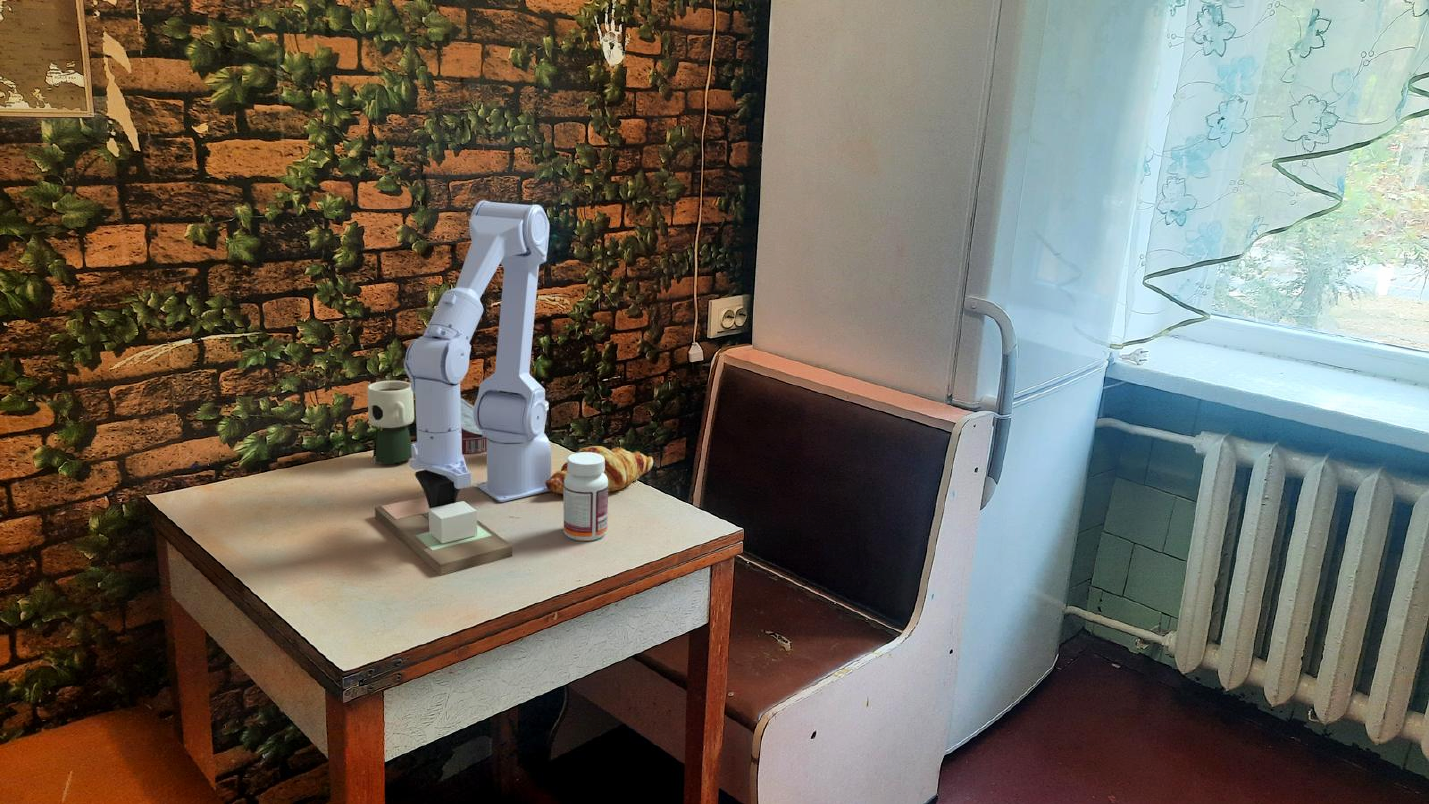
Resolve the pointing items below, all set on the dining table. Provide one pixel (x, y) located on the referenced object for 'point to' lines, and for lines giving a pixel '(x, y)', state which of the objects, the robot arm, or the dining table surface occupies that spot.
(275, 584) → the dining table surface
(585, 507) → the pill bottle
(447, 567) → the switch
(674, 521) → the dining table surface
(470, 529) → the white block
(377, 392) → the character mug
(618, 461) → the croissant
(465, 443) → the canned food
